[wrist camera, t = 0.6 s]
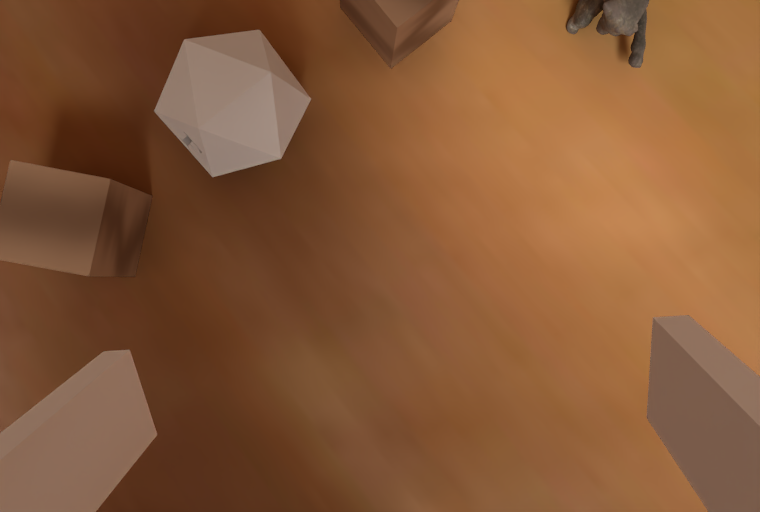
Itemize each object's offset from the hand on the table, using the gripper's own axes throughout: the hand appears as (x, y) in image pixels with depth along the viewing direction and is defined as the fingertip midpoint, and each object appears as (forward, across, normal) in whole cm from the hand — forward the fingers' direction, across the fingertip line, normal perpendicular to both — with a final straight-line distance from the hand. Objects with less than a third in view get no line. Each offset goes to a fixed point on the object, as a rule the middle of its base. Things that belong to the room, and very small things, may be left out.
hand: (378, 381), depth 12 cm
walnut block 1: (+21, +22, 0) cm, 31 cm away
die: (+25, +12, -6) cm, 28 cm away
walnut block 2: (+30, 0, -13) cm, 32 cm away
